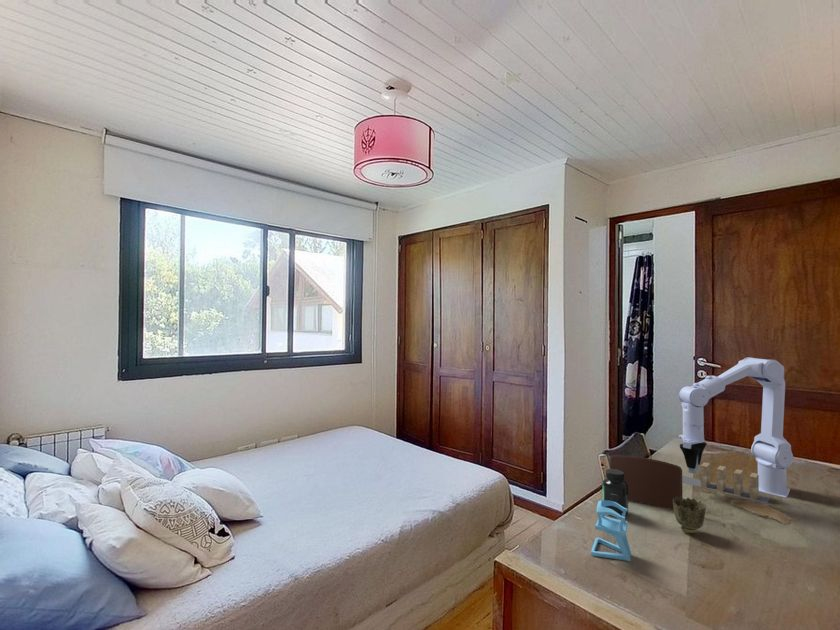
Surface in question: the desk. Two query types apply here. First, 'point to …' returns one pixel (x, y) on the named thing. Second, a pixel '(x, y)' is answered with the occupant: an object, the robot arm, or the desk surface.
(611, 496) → the supplement bottle
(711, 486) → the felt runner
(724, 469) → the tile
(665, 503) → the letter holder
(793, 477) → the desk surface
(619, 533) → the light blue stand
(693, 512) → the cup
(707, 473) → the tile
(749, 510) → the pottery shard
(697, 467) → the tile
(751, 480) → the tile
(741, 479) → the tile
